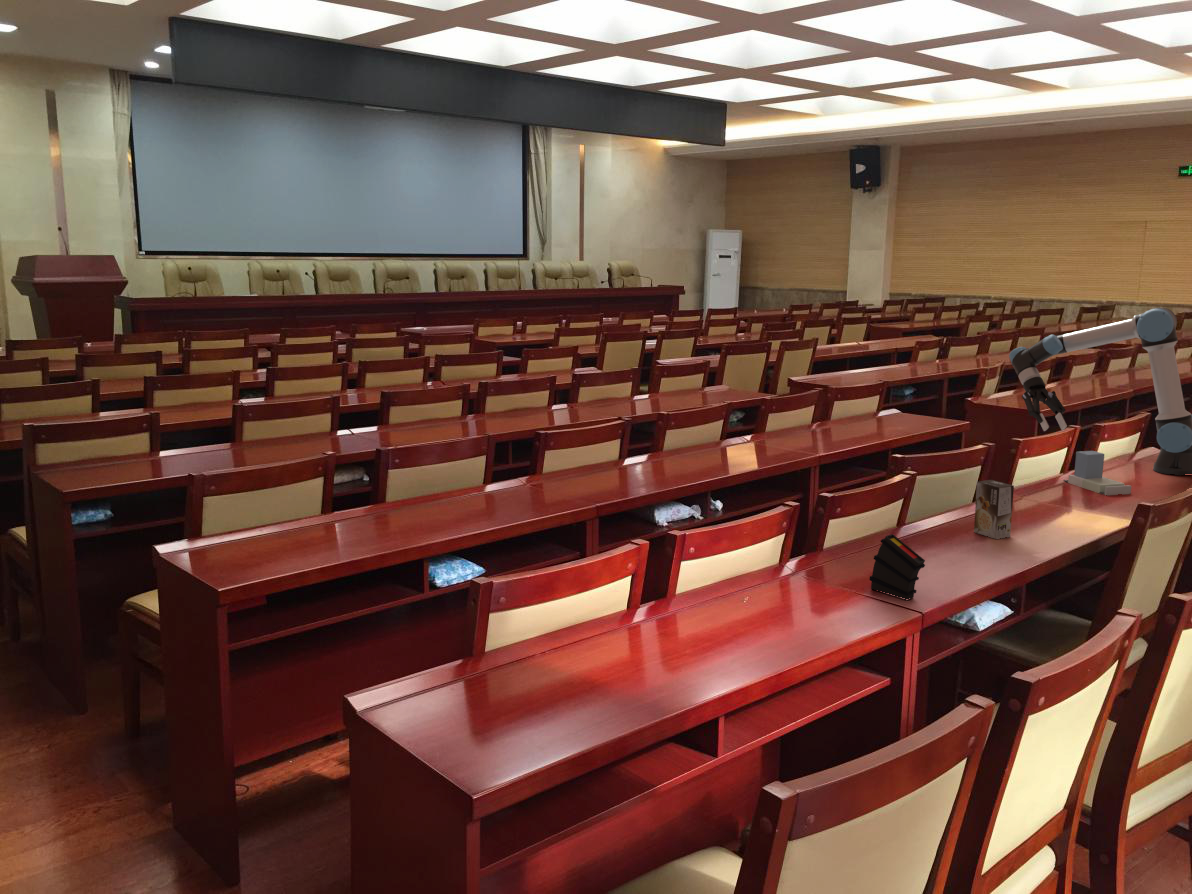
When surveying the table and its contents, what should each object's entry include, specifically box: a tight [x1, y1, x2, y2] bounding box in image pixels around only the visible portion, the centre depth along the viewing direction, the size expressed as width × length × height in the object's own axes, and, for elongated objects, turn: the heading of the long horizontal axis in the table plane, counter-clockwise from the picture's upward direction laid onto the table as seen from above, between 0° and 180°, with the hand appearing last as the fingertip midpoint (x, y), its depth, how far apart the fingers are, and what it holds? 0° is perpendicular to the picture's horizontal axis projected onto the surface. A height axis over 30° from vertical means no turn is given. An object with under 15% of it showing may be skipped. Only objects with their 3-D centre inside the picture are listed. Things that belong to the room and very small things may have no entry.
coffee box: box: [973, 479, 1015, 540], centre depth 291 cm, size 9×6×16 cm
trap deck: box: [1063, 474, 1132, 496], centre depth 350 cm, size 10×22×3 cm, turn 12°
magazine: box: [868, 534, 926, 599], centre depth 240 cm, size 4×13×15 cm, turn 39°
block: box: [1073, 450, 1105, 479], centre depth 353 cm, size 7×6×9 cm
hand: (1055, 428), depth 370 cm, fingers open, 7 cm apart
